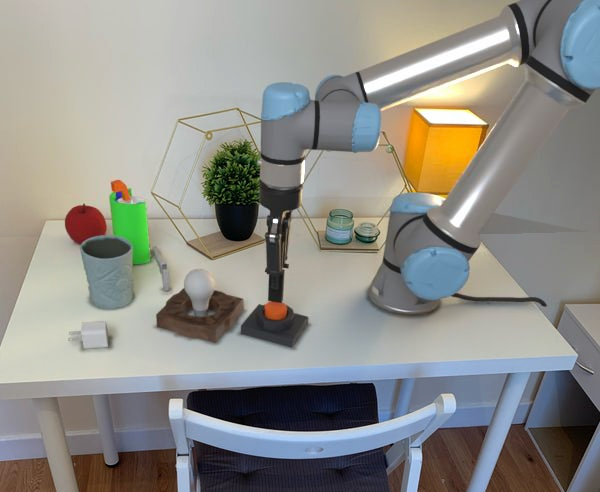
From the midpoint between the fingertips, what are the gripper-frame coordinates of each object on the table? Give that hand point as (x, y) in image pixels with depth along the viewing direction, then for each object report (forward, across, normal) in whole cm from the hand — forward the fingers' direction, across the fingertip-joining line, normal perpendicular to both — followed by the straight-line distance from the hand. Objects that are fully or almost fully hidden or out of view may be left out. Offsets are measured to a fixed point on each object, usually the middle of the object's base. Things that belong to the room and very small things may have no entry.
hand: (275, 299), depth 129 cm
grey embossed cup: (+7, -2, -35) cm, 36 cm away
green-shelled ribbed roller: (+7, -21, -38) cm, 44 cm away
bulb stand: (+7, 0, -15) cm, 17 cm away
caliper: (+8, -8, -35) cm, 37 cm away
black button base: (+7, 0, 0) cm, 7 cm away
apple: (+7, -24, -50) cm, 56 cm away
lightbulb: (+7, 0, -15) cm, 17 cm away
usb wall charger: (+7, +14, -33) cm, 37 cm away
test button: (+3, 0, 0) cm, 3 cm away
